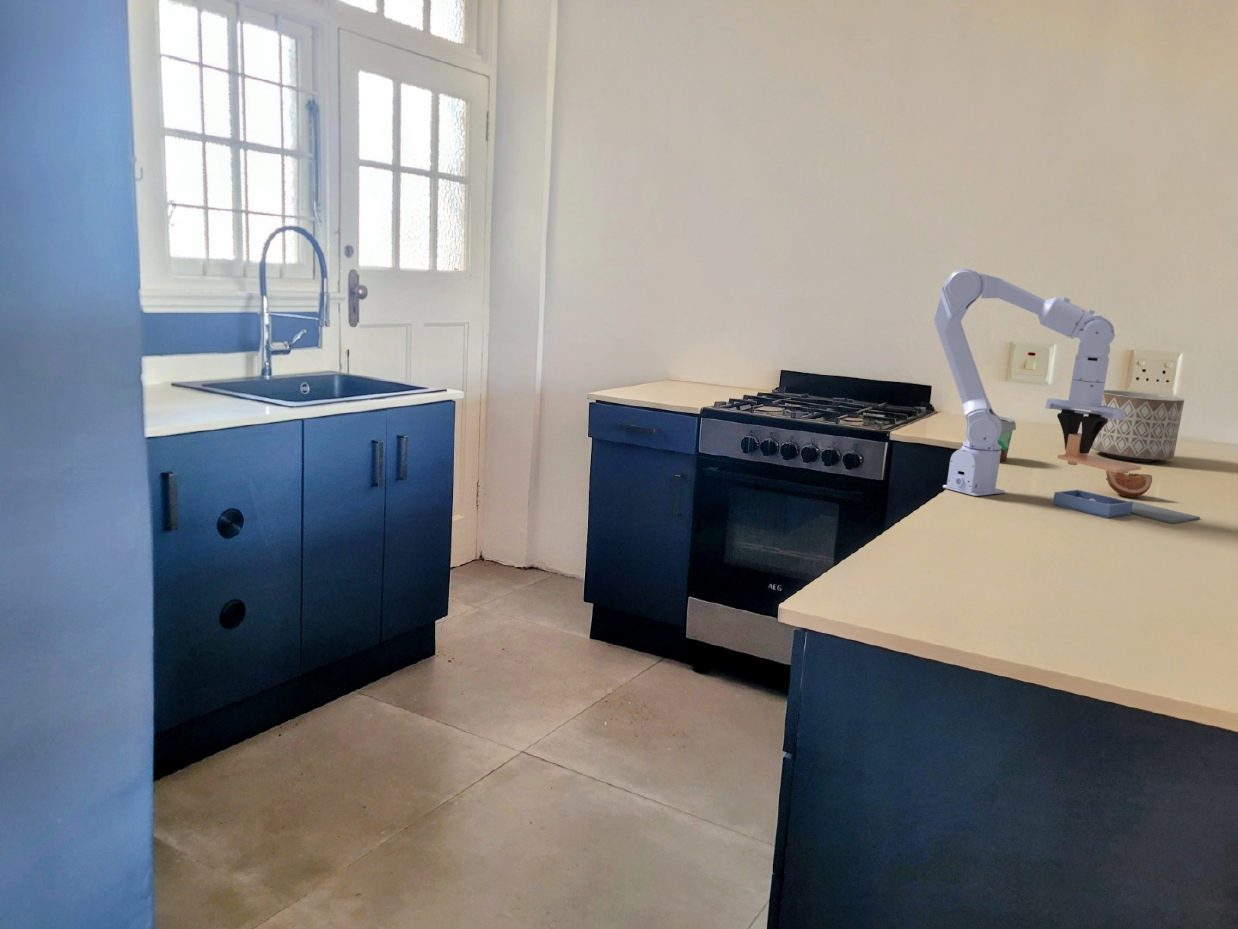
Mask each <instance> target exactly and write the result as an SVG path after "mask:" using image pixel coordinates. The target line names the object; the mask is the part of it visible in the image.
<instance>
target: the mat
mask: <svg viewBox="0 0 1238 929" xmlns="http://www.w3.org/2000/svg"><path fill="white" fill-rule="evenodd" d="M1129 502H1133V504H1132V509H1131V515H1135V516H1139V517H1143V518H1147V519H1151V520H1156V521H1160V522H1163V523H1168V524H1171V525H1172V524H1178V523H1184V522H1189V521H1195V520H1196V521H1197V520H1200V519H1201V517H1200V516H1198V515H1193V514H1190V513H1184V512H1180V511H1176V510H1171V509H1168V508H1163V507H1159V506H1154V505H1151V504H1146V503H1142V502H1139V501H1133V500H1129Z"/></svg>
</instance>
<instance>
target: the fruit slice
mask: <svg viewBox="0 0 1238 929" xmlns="http://www.w3.org/2000/svg"><path fill="white" fill-rule="evenodd" d="M1105 480H1106V481H1107V484H1108V486H1109V487H1110V488H1111V489H1112V490H1113V491H1114V492H1115V493H1117V494H1119V495H1120V496H1123V497H1126V498H1136V497H1141V496H1142V495H1145V493H1147V492H1148V491H1149V489H1150V488H1151V486H1152V483H1153V477H1152V475H1151V474H1143V473H1141V474H1140V473H1130V472H1128V473H1121V472H1118V473H1116V475H1110V474H1106V478H1105Z"/></svg>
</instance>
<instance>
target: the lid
mask: <svg viewBox="0 0 1238 929" xmlns="http://www.w3.org/2000/svg"><path fill="white" fill-rule="evenodd" d="M1081 437H1082V432H1081V433H1080V432H1079V433H1075V434H1069V436H1068V442H1067V447H1066V450H1065V454H1058V455H1057V459H1060V460H1064V461H1067V465H1070V466H1078V464H1080V465H1084V466H1088V467H1091V468H1096V469H1100V470H1104V471H1106V472H1105V474H1106V475H1107V474H1110V475H1116V473H1118V472H1120V473H1124V474H1129V473H1130V472H1133V471H1139V470H1141V469H1142V466H1141V465H1137V464H1132V463H1128V462H1124V461H1119V460H1115V459H1110V458H1107V457H1102V456H1099V455H1093V454H1090V453H1080V443H1081Z"/></svg>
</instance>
